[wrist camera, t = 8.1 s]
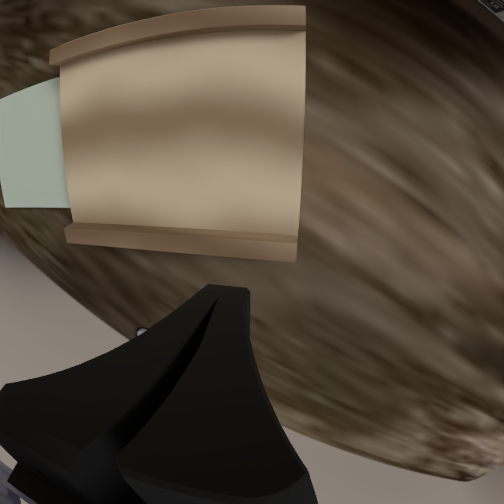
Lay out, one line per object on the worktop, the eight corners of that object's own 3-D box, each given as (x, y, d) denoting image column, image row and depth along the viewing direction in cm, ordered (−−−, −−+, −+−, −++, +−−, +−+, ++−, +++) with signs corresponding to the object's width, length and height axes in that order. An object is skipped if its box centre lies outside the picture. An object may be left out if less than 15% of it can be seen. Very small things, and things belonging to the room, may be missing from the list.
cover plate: (95, 201, 20) (83, 208, 19) (16, 201, 21) (5, 207, 20) (87, 72, 16) (74, 72, 15) (6, 100, 17) (-6, 102, 16)
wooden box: (297, 241, 18) (295, 269, 15) (97, 227, 20) (68, 248, 17) (305, 20, 13) (305, -2, 10) (84, 48, 15) (50, 43, 12)
